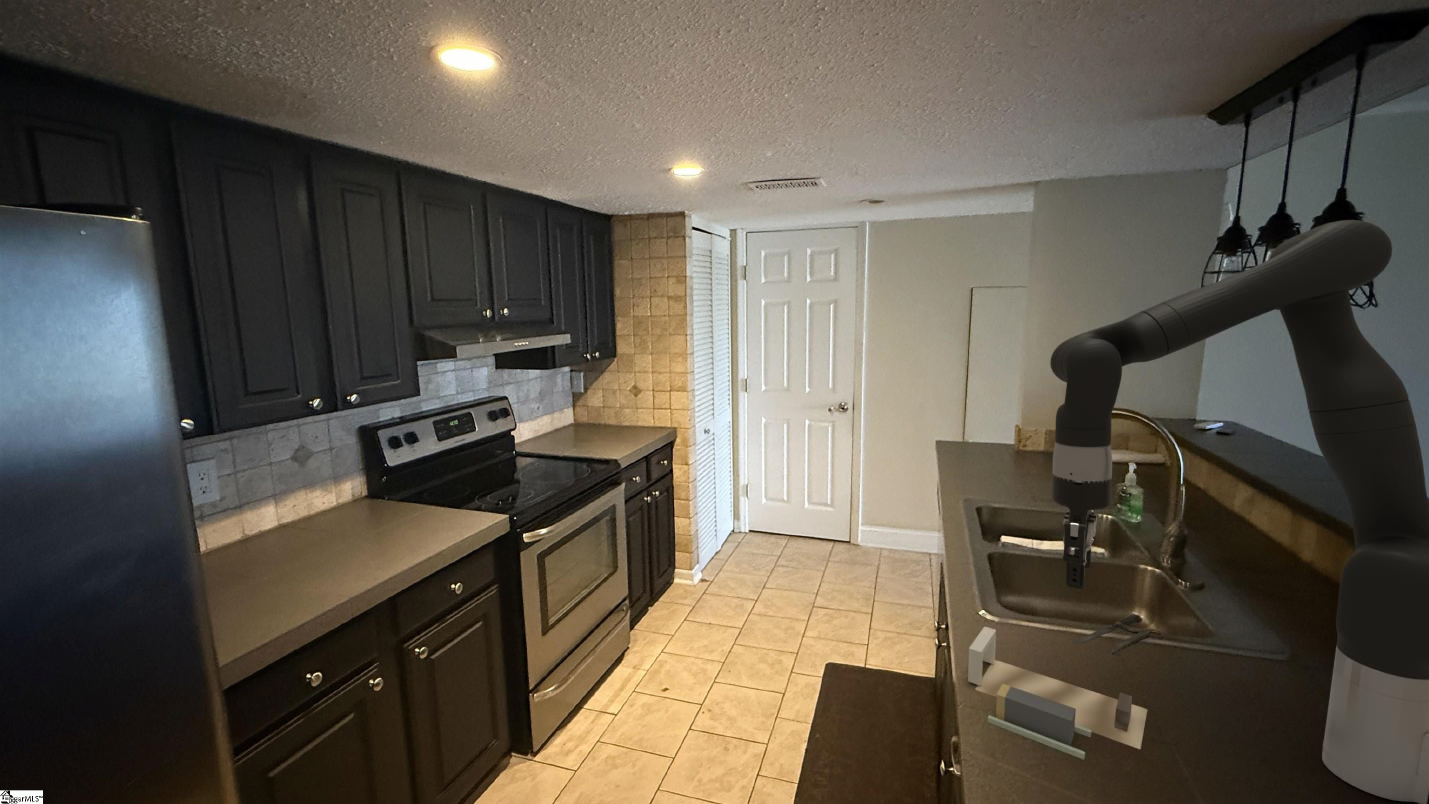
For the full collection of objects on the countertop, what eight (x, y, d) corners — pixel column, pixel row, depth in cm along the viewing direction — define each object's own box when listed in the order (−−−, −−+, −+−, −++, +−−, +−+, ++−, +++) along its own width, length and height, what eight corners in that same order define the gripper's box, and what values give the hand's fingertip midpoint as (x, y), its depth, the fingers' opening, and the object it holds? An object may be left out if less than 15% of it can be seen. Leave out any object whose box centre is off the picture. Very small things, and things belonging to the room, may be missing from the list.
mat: (1090, 738, 90) (1091, 730, 90) (1083, 763, 85) (1084, 754, 85) (998, 704, 98) (999, 697, 98) (987, 725, 94) (987, 717, 93)
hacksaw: (1133, 617, 124) (1134, 610, 124) (1190, 641, 115) (1190, 634, 114) (1056, 649, 114) (1056, 641, 114) (1111, 678, 105) (1112, 670, 104)
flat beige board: (1147, 712, 95) (1148, 690, 95) (1140, 753, 87) (1141, 729, 86) (993, 662, 110) (994, 643, 109) (975, 692, 102) (975, 672, 101)
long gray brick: (1074, 735, 90) (1075, 708, 90) (1069, 748, 88) (1071, 720, 87) (1001, 708, 97) (1002, 683, 96) (995, 720, 94) (996, 694, 93)
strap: (994, 661, 109) (996, 629, 108) (980, 685, 102) (981, 652, 101) (983, 657, 110) (984, 626, 109) (967, 681, 103) (969, 648, 102)
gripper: (1060, 460, 97) (1057, 556, 99) (1044, 481, 85) (1042, 588, 87) (1115, 464, 92) (1112, 565, 94) (1107, 487, 81) (1103, 600, 83)
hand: (1078, 576), depth 91 cm, fingers open, 8 cm apart
